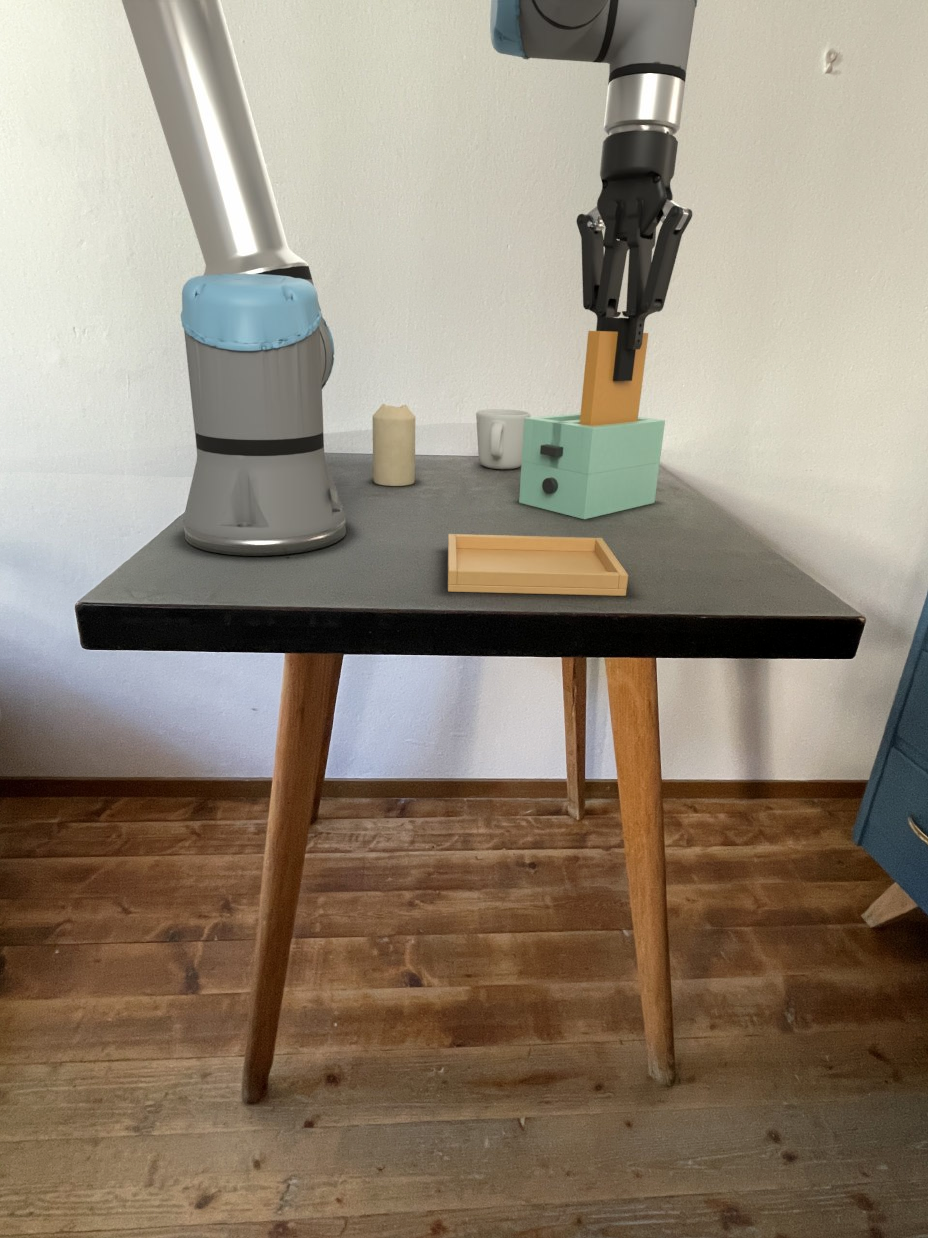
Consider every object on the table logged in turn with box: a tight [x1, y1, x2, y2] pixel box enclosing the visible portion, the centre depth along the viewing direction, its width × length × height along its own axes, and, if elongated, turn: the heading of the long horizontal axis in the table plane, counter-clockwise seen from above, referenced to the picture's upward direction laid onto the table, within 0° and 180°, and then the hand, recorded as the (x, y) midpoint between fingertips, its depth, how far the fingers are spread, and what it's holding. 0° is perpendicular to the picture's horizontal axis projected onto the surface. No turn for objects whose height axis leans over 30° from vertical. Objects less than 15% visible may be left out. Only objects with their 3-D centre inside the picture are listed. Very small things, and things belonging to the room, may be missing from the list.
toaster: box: [518, 412, 666, 520], centre depth 88 cm, size 10×15×10 cm, turn 133°
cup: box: [475, 408, 532, 470], centre depth 108 cm, size 11×8×8 cm
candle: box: [372, 403, 416, 487], centre depth 96 cm, size 6×6×10 cm
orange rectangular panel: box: [580, 330, 649, 426], centre depth 84 cm, size 2×9×12 cm, turn 133°
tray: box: [447, 533, 629, 597], centre depth 64 cm, size 14×11×2 cm
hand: (614, 379), depth 83 cm, fingers closed on orange rectangular panel, 1 cm apart
